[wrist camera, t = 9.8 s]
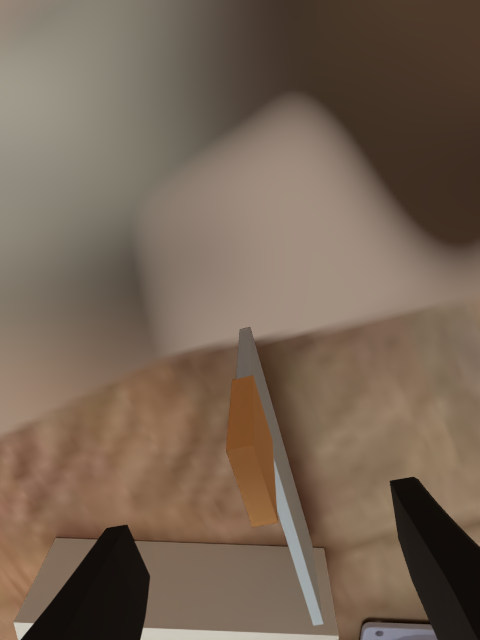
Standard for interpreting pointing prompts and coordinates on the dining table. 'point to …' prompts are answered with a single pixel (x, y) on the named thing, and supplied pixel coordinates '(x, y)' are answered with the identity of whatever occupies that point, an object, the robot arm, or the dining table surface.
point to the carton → (204, 591)
